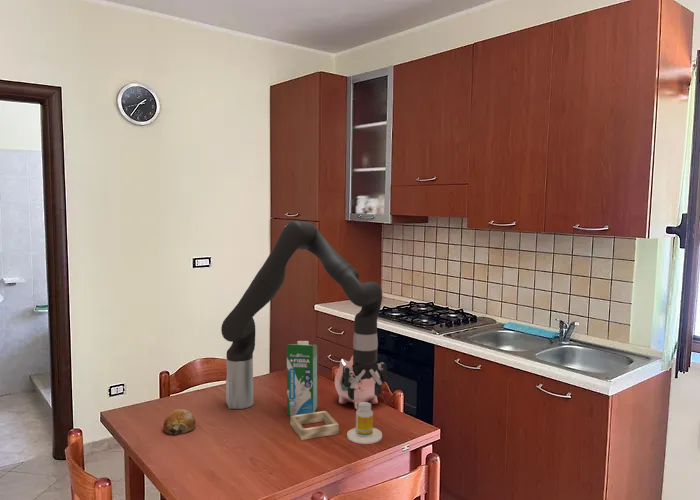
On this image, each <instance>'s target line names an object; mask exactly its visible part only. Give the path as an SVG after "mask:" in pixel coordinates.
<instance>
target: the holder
mask: <svg viewBox="0 0 700 500" xmlns="http://www.w3.org/2000/svg"><path fill="white" fill-rule="evenodd" d="M289 417H290V418H289V419H290V423H289V424H290V426H291V428H292V429H293V430H294V432H295V433H296V434H297V436H298V438H300V440H301V441H304V440H309V439H311V440H312V439H315V438H316V439H317V438H321V437H327V436H333V435H339V434H340V423H338V422H337V421H336V420H335V419H334V418H333V416H331V414H330V413H329V412H328V411H327V410H322V411H315V412H313V413H307V414H300V415H294V416H291V415H289ZM319 422H320V423H321V422H324V423H325V424H324V425H319V426H318V425H317V426H313V427H307V428H304V427H303V425H307V424H313V423H319Z"/></svg>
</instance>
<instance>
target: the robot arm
mask: <svg viewBox="0 0 700 500" xmlns="http://www.w3.org/2000/svg"><path fill="white" fill-rule="evenodd" d="M273 246H274V247H273V249H272V250H271V251H270V253H269V255H268V256H267V258H266V260H265V261H264V263H263V264H262V266H261V268H259V270H258V271H257V273H256V275H255V277H253V280H251V283H250V284H249V286H248V287H247V289H246V290H245V292H244V294H243V295H242V296H241V298H240V299H239V301H238V303H237V304H236V305H235V306H234V308H233V309H232V310H231V311H230V312H229V313H228V315H227V316H226V317H225V318H224V320H223V322H222V324H221V330H220V331H221V335H222V337H223V338H224V340H225V341H228V342H232V343H231V345H230V346H229V348H228V349H227V351H226V378H225V399H226V400H225V401H226V406H227V407H228V409H229V410H231V409H232V410H233V409H235V410H243V409H247V408H250V407H252V406H253V405H254V364H253V362H254V360H253V358H254V356H253V355H254V354H253V353H254V352H255V347H256V322H255V319H254V318H253V317H254V316H255V315H256V314H257V313H258V312H259V311H261V310H262V309H263V308H264V307H265V306H266V305H267V304H269V303H270V302H271V300H273V299H274V297H275V296H276V294H277V293H278V291H279V290H280V289H281V287H282V286H283V285H284V282H285V278H286V268H287V265H288V262H289V260H290V259H291V258H292V256H293V255H294V253H295V252H296V251H297V250H306V251H308V252H309V253H312V254H313V255H314V256H315V257H317V258H318V259H319V261H320V263H321V264H322V266H323V268H324V270H325V271H326V273H327V275H328V276H330V277H331V278H332V280H334V281H335V283H337V284H338V285H339V286H340V287H341V289H342V290H343V292H344V293H345V295H346V297H347V298H348V299H349V301H350V302H351V303H352V304H353V305H355V306H357V307H360V308H361V309H360V310H359V312H358V313H356V314H355V315H354V322H353V323H354V325H353V327H354V328H353V329H354V330H353V339H352V344H353V345H352V356H353V365H352V367H347V366H344V367H343V375H342V384H343V385H344V386H345V387H348V397H349V398H350V399H351V400H354V388H353V387H354V386H355V385H356V383H358V382H359V380H360V379H361V380H364V379H371V377H372V378H373V379H374V381H375V382H376V383H375V390H374V394H375V395H376V396H377V397H380V395H381V393H382V384H383V383H387V381H388V374H387V372H388V368H387V364H386V363H385V362H383V361H380V362H379V363H378V346H379V343H378V340H379V339H378V317H379V315H380V311H381V307H382V303H383V302H382V301H383V291H382V288H381V286H380V285H379V283H378V282H375V281H366V282H361V281H360V280H359V279H360V274H359V271H358V270H357V269H356V268H355V267H354V266H352V265H351V264H350V263H349V262H348V261H347V260H346V259H344V258H343V257H342V255H340V254H339V253H338V252H337V251H336V250H335V248H333V246H332V245H331V244H330V243H329V242H328V241H327V239H326V238H325V237H324V236H323V234H322V233H321V231H320V230H319V229H318V228H317V227H316V226H315V225H314V223H311V222H308V221H301V220H291V221H289V222H288V223H287V224H286V225H285V226H284V228H283V229H282V231H281V233H280V235H279V236H278V239H277V241H276V243H275V245H273ZM376 370H377V371H378V370H379V376H380V378H379V377H378V376H377V375H376V373H375V372H376ZM351 371H353V372H354V373H353V375H352V376H351V379H350V380H349V374H350V373H351ZM356 376H357V377H356Z"/></svg>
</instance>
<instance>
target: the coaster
mask: <svg viewBox="0 0 700 500" xmlns="http://www.w3.org/2000/svg"><path fill="white" fill-rule="evenodd" d="M346 433H347V434H346V438H347V439H348V440H349V441H350V442H353V443H355V444H359V445H371V444H376V443H378V442H380V441H381V440H382V439H383V433H382V431H381V430H380V429H378V428H376V427H373V433H372V435H371V436H368V437H361V436H358V435H357V434H356V427H353V428H351V429H350V430H348V431H347V432H346Z"/></svg>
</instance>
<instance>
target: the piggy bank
mask: <svg viewBox="0 0 700 500" xmlns="http://www.w3.org/2000/svg"><path fill="white" fill-rule="evenodd" d="M352 365H353V355H352V356H351V358H350V360H346V359H344V358H341V359H340V362H339V367H338V368H337V369H338V370H337V372H336V373H335V377H334V386H335V390H336V392H337V395H338V404H341V405H342V404H343V405H345V404H347V403H349V402H350V403H353V407H354V409H355V410H356V411H357V410H358V404H359V403H361V402H368V403H370V404H371V405H374V404H378V403H379V400H378V396H376V395H375V394H374V390H375V383H376V382H375V381H374V379H373V378H372V377H371V379H364V380H361V379H360V380H359V382H358V383H356V385H355V386H354V387H353V388H354V400H351V399H350V398H349V397H348V387H345V386H344V385H343V384H342V375H343V367H344V366H347V367H352ZM353 373H354V372H353V371H351V373H350V374H349V380H350V379H351V376H352V375H353ZM375 373H376V375H377V376H378V377H379V378H380V373H379V372H378V369H377V370H376V372H375ZM356 377H357V376H356Z"/></svg>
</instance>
